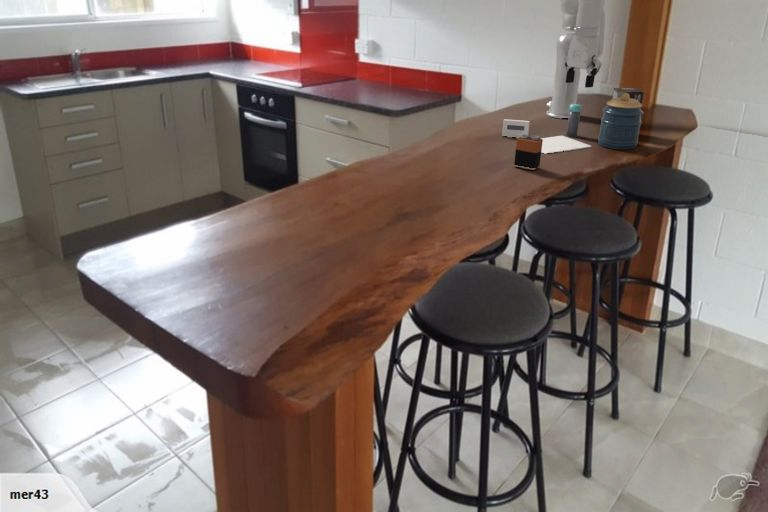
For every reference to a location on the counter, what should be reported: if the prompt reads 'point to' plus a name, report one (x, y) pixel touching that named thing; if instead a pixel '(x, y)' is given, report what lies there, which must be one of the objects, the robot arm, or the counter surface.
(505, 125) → the word card
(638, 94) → the coffee box
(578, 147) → the paper
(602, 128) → the canister
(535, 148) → the battery
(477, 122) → the counter surface
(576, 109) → the marker
